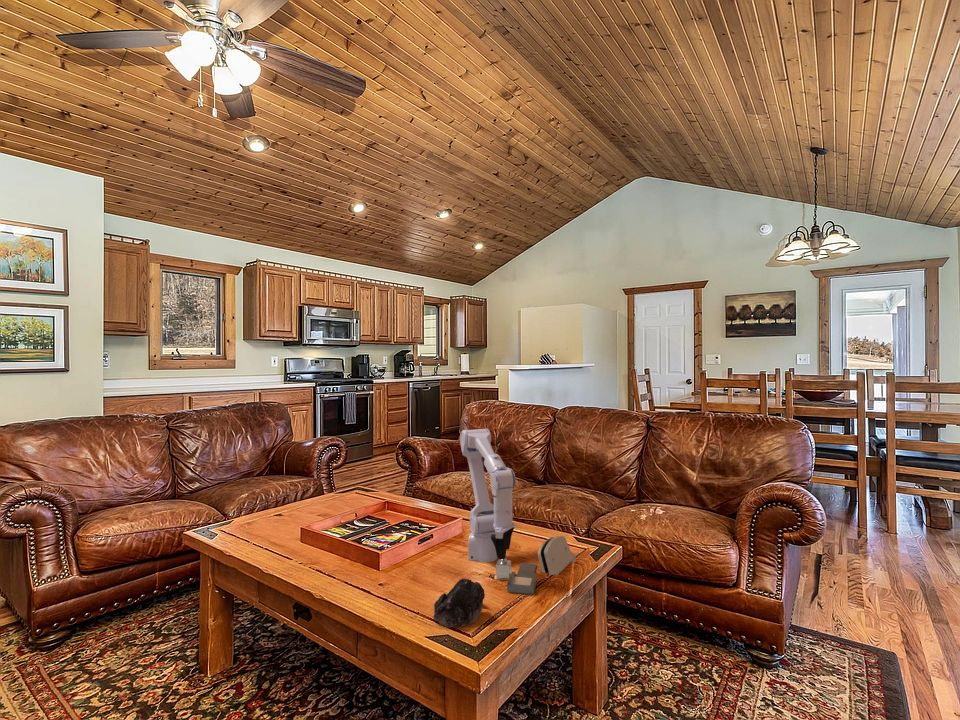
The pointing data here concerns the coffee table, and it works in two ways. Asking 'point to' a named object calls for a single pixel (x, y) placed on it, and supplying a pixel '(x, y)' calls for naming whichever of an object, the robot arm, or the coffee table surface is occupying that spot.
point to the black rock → (460, 604)
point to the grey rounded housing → (555, 555)
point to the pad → (500, 578)
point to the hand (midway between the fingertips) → (503, 553)
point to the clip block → (503, 569)
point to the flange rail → (523, 580)
